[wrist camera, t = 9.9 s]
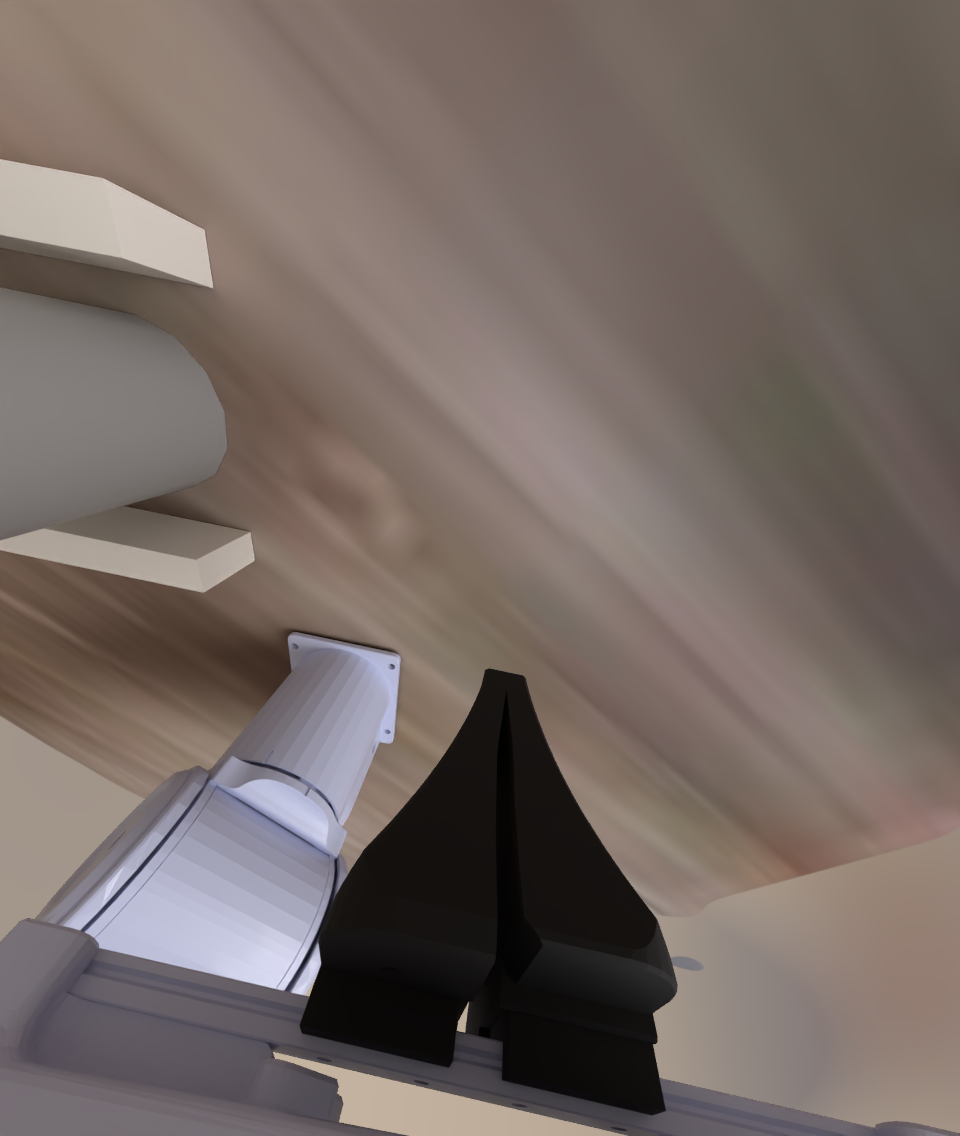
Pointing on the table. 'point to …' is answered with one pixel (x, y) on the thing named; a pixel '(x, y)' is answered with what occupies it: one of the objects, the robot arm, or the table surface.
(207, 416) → the cup
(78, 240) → the stall
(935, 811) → the table surface
